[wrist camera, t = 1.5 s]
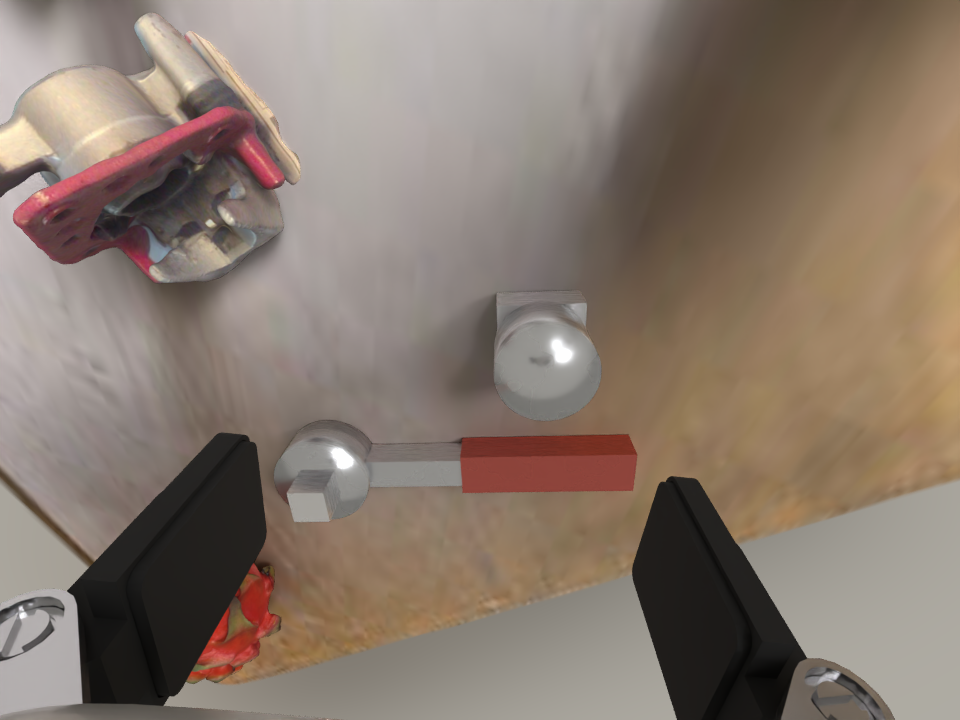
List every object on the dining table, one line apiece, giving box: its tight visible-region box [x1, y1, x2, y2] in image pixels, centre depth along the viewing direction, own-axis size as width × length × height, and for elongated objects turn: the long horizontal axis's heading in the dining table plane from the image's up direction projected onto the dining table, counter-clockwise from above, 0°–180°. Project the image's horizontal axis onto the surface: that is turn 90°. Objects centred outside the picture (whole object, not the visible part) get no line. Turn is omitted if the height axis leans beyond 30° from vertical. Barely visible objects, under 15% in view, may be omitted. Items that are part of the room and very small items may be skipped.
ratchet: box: [274, 420, 637, 522], centre depth 30 cm, size 23×6×5 cm, turn 93°
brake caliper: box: [0, 13, 300, 284], centre depth 22 cm, size 11×11×12 cm
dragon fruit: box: [186, 563, 281, 684], centre depth 35 cm, size 8×8×12 cm
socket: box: [494, 290, 601, 421], centre depth 26 cm, size 5×5×6 cm
